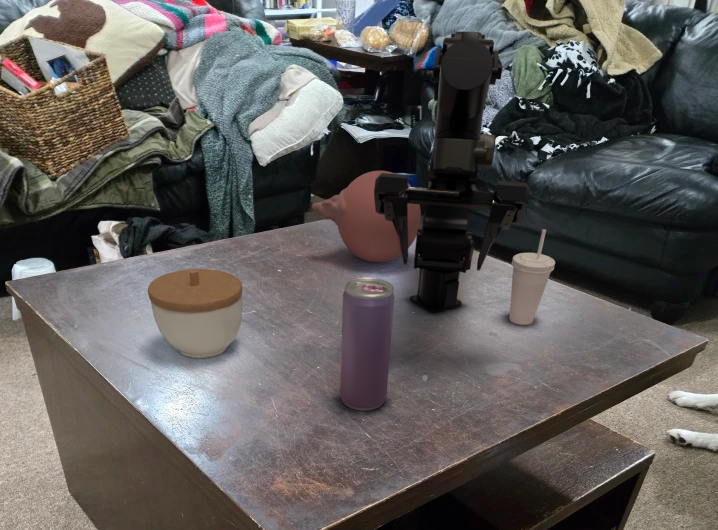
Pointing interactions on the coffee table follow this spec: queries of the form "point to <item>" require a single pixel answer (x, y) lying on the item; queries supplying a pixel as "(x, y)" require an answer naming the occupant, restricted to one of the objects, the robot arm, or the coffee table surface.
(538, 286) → the smoothie
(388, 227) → the balloon
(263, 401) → the coffee table surface
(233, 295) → the lidded bowl
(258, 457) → the coffee table surface
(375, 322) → the beverage can
